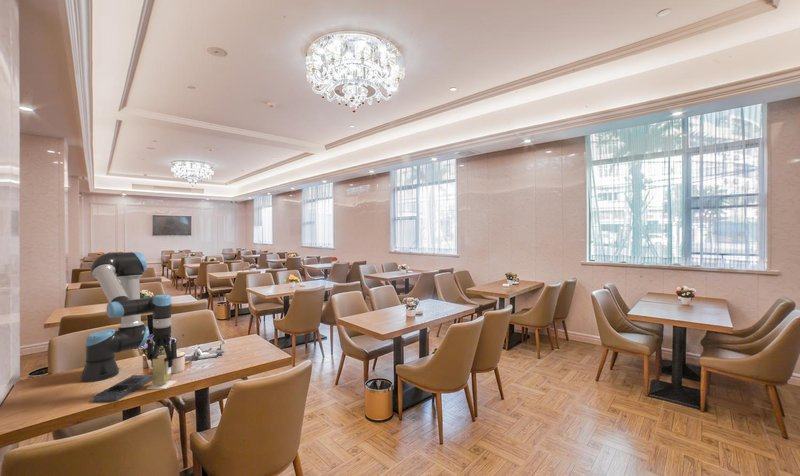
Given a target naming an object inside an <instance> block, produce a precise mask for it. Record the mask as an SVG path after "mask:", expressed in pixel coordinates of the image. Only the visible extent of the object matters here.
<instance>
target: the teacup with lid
mask: <svg viewBox="0 0 800 476" xmlns="http://www.w3.org/2000/svg"><path fill="white" fill-rule="evenodd" d="M185 356H186V353H185V352H184V351H179V350H178V349H177V358H175V359H173V365H172V367H171V375H173V374H174V375H175V374H179V373H182V372H184V370H185V367H186V366H185V365H186V364H185V363H186V361H185V360H186V359H185Z"/></svg>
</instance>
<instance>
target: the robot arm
mask: <svg viewBox="0 0 800 476" xmlns="http://www.w3.org/2000/svg"><path fill="white" fill-rule="evenodd" d="M147 266H148V265H147V260H146V257H145V255H144V254H143V253H142V252H133V251H129V252H107V253H104V254H101V255H99V256H98V257H96V258H95V260H93V262H92V264H91V266H90V272H91V275H92V277H93V278H94V279H95V280H97V281H98V283H99V285H100V287H101V289H102V291H103V294H104V295H105V297H106V299H107V301H108V303H107V305H106V308H105V309H106V315H107V317H108V318H110V319H115V318H116V319H117V318H118V319H119V318H120V319H121V323H120V324H119V325H118V327H117V330H115V329H114V328H107V329H102V330H97V331H95V332H90V334H88V335H87V336H86V338H85V345H84V346H85V364H84V367H83V370H82V373H81V375H80V381H81V382H98V381H103V380H107V379H110V378H113V377H115V376H117V375H118V374H119V373H120V368H119V367H118V363H117V361H116V358H115V354H116V353H117V354H118V353H122V352H127V351H131V350H137V349H140V348H142V347H141V346H142V345H143V344H145V343H146V342H147V343H146V345H147V350H146V353H147V355H146V360H147V361H150V362H151V368H152V363H153V359H154V358H156V357H158V356H159V355H158V354H159V351H160V347H162V348H163V349H164V352H165V355H166V356H167V361H166V375H168V374H169V373H171V367H172V365H173V359H175V358H177V350H178V349H177V342H178V338H177V337H175V338H174V337H172V335H171V334H172V326H171V325H172V297H171V295H170V294H166V293H165V294H157V295H154V296H147V297H145V298H144V297H143V298H141V288H140V285H141V284H140V283H141V282H140V278H141V277H143V276H144V275H143V273H146V271H147ZM150 313H151V314H152V338H149V339H148V338H147V337H148V336H149V337H150V330H149V326H148V325H145V323H144V322H143V321H142V320H141V319H142V318H141V317H142V316H141V315H142V314H143V315H144V314H150Z"/></svg>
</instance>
